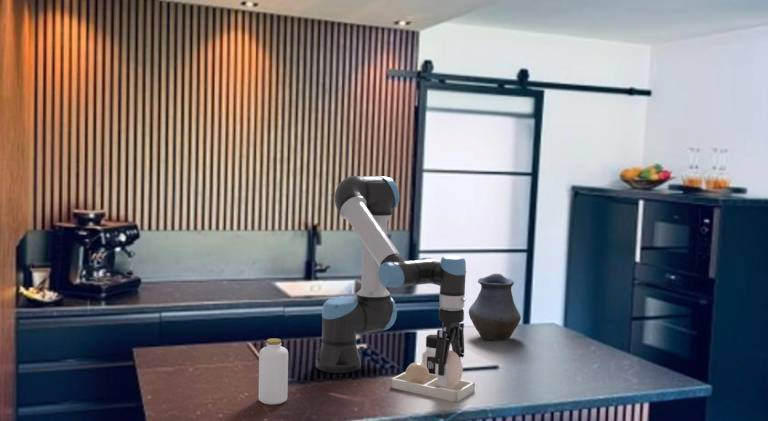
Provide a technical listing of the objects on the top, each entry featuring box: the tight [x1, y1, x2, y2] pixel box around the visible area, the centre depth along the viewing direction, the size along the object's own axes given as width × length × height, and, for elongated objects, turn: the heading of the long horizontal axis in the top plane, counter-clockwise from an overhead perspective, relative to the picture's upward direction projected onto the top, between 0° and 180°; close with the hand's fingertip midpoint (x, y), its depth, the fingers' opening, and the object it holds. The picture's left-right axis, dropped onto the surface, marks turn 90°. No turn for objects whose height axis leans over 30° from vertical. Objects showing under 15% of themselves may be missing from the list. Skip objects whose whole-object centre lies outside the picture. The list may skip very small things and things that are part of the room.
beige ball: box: [405, 361, 429, 385], centre depth 228 cm, size 7×7×7 cm
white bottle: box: [258, 338, 289, 406], centre depth 213 cm, size 8×8×18 cm
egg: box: [436, 349, 463, 388], centre depth 222 cm, size 8×8×11 cm
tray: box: [390, 371, 476, 403], centre depth 225 cm, size 23×12×4 cm, turn 59°
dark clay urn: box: [468, 273, 522, 341], centre depth 293 cm, size 21×22×25 cm
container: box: [421, 333, 437, 375], centre depth 244 cm, size 8×8×13 cm
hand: (448, 381), depth 222 cm, fingers open, 8 cm apart
